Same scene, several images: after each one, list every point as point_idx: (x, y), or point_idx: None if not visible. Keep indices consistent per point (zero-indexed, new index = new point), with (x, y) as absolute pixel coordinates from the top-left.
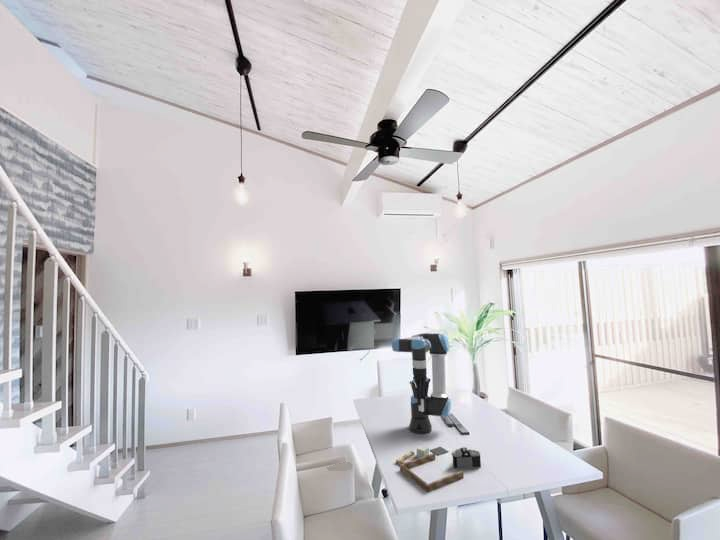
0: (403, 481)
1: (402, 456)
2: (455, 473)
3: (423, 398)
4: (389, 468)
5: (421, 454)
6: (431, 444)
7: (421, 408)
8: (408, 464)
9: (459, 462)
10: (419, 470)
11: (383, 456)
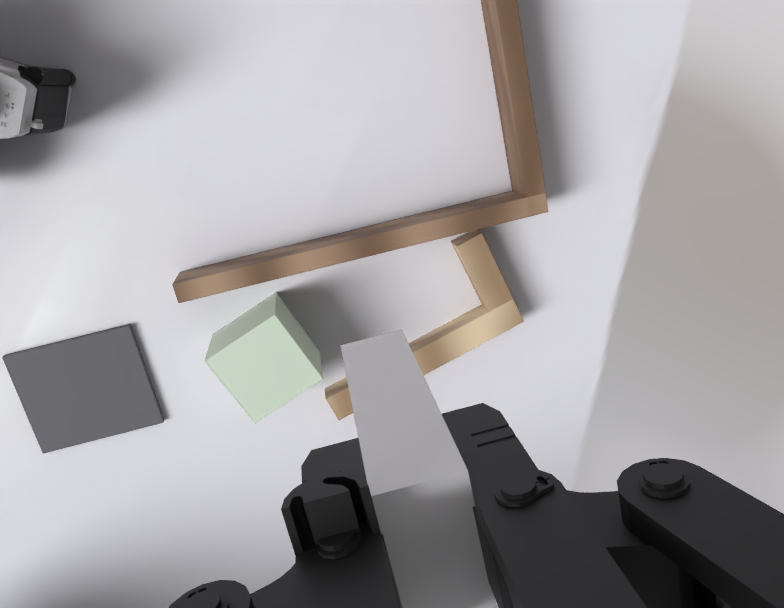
0: (577, 48)
1: (452, 359)
2: None
3: (369, 515)
4: (595, 259)
5: (293, 326)
6: (105, 511)
7: (417, 364)
8: (471, 209)
9: (3, 61)
10: (388, 155)
11: (564, 433)
